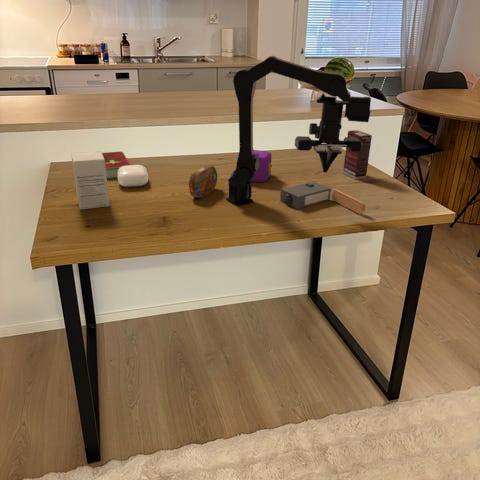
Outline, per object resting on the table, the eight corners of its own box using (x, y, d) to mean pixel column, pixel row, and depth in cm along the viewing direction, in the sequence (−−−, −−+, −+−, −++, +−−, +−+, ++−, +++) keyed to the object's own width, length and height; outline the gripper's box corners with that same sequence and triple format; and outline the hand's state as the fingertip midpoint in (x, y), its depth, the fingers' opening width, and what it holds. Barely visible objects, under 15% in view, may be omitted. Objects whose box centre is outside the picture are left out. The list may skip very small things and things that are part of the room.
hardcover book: (123, 160, 189) (123, 150, 187) (133, 176, 172) (133, 165, 170) (92, 163, 185) (91, 152, 183) (99, 180, 168) (98, 168, 166)
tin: (196, 201, 150) (195, 176, 146) (187, 200, 151) (186, 174, 148) (218, 187, 162) (218, 163, 159) (209, 186, 164) (209, 162, 160)
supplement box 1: (77, 199, 150) (70, 152, 143) (106, 196, 153) (101, 150, 146) (79, 210, 142) (72, 161, 135) (110, 206, 145) (105, 158, 138)
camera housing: (294, 209, 146) (296, 195, 144) (277, 201, 152) (278, 188, 150) (329, 200, 154) (331, 186, 152) (312, 192, 160) (313, 179, 158)
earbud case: (118, 190, 158) (116, 174, 156) (117, 177, 170) (116, 163, 167) (149, 188, 161) (148, 173, 158) (147, 176, 172) (146, 161, 169)
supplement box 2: (366, 178, 174) (372, 135, 167) (355, 179, 173) (361, 136, 166) (353, 171, 181) (358, 129, 174) (342, 172, 180) (347, 130, 173)
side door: (364, 213, 143) (366, 202, 142) (359, 214, 143) (361, 203, 141) (335, 198, 154) (336, 187, 153) (331, 199, 153) (332, 188, 152)
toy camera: (271, 172, 179) (273, 145, 174) (270, 184, 167) (271, 156, 162) (243, 170, 180) (243, 144, 175) (239, 182, 167) (240, 154, 163)
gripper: (354, 114, 144) (347, 164, 151) (293, 112, 142) (288, 163, 149) (366, 122, 134) (358, 175, 141) (301, 121, 132) (295, 175, 139)
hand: (324, 172), depth 142 cm, fingers closed
